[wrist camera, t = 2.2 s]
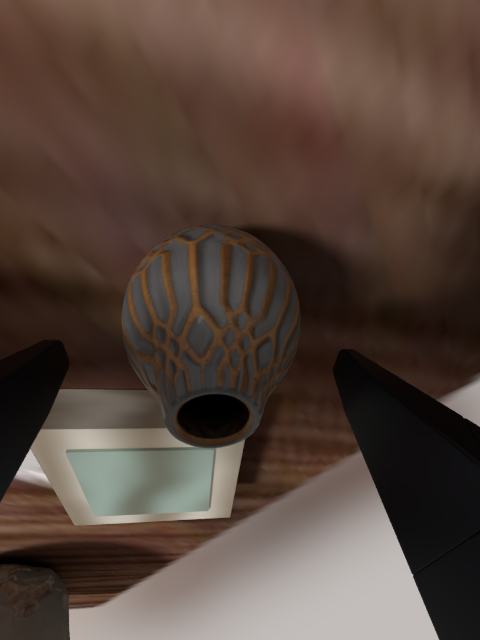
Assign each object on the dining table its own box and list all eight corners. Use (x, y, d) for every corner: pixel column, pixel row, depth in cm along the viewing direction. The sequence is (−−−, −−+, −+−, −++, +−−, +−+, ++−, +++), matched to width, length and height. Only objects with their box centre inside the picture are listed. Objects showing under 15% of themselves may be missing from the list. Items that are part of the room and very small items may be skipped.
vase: (300, 287, 14) (393, 423, 7) (209, 350, 16) (204, 511, 9) (222, 177, 11) (237, 208, 4) (119, 272, 13) (-11, 421, 5)
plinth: (90, 486, 23) (73, 528, 21) (49, 388, 17) (17, 432, 14) (228, 481, 25) (229, 519, 22) (242, 390, 18) (247, 430, 16)
